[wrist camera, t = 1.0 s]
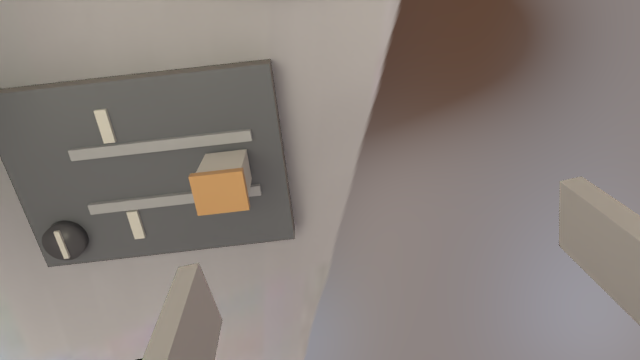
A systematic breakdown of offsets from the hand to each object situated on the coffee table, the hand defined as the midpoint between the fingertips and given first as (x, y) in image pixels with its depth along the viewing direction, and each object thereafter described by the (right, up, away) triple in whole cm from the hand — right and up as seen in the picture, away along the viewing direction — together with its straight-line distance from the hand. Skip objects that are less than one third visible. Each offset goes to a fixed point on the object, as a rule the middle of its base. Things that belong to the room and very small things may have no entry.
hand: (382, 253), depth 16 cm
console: (-15, +4, +19) cm, 24 cm away
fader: (-9, +4, +17) cm, 19 cm away
